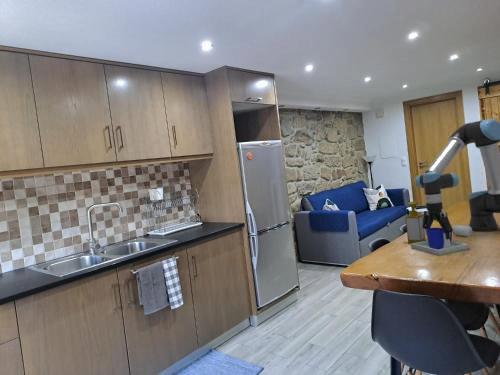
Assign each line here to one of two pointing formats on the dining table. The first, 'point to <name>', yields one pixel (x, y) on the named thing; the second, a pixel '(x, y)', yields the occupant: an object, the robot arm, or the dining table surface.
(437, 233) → the mug
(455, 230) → the white cylinder
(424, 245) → the tray
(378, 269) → the dining table surface
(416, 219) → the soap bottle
